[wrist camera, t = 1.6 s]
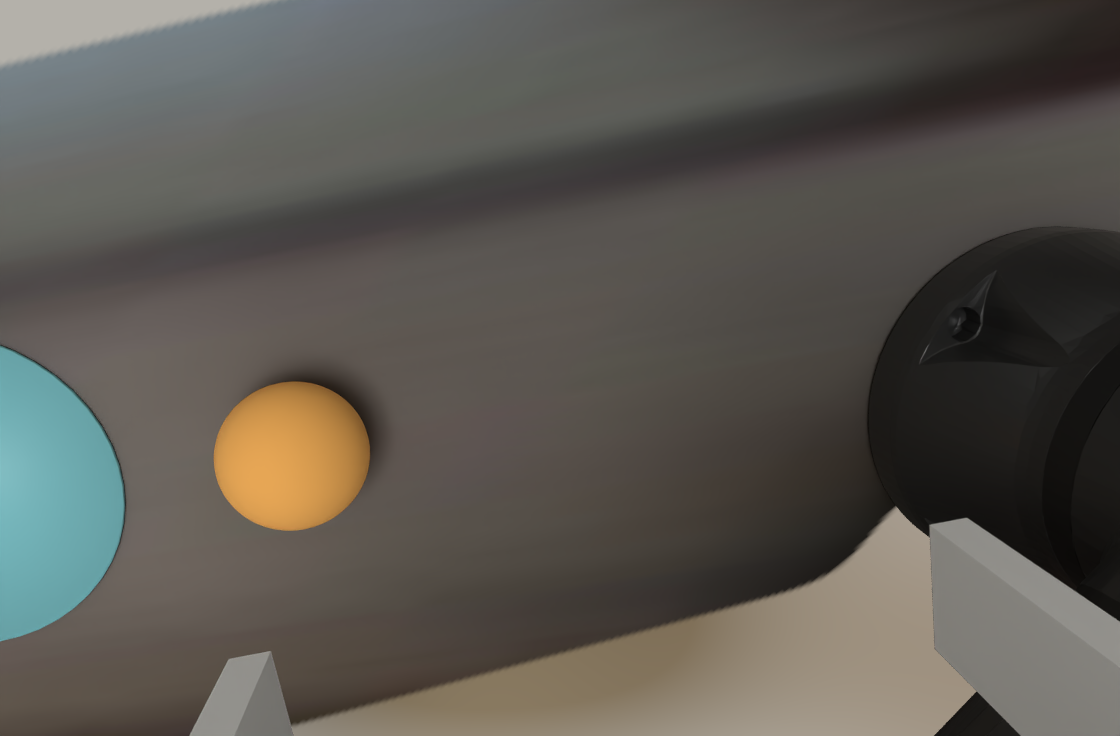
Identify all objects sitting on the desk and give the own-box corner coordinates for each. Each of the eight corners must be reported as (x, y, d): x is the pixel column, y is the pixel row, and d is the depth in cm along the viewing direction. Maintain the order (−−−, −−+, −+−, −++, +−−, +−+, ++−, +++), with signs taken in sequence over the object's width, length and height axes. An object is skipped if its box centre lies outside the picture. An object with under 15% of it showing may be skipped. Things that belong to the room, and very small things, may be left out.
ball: (362, 356, 32) (341, 391, 27) (389, 483, 33) (374, 541, 28) (223, 379, 32) (173, 419, 26) (256, 507, 33) (214, 570, 28)
